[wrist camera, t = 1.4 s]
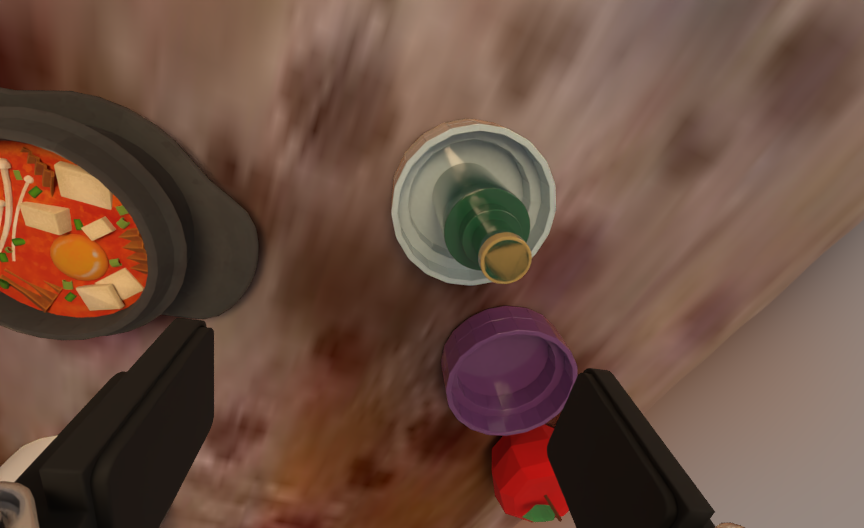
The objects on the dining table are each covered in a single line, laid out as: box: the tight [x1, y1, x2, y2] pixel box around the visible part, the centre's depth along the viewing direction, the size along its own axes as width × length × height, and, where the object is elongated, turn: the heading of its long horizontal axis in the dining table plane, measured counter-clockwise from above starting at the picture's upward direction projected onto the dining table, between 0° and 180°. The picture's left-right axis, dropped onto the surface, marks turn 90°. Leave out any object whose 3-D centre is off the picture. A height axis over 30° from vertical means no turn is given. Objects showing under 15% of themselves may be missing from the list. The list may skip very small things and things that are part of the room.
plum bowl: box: [441, 306, 577, 436], centre depth 42 cm, size 13×13×5 cm
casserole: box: [0, 88, 259, 340], centre depth 30 cm, size 25×19×8 cm
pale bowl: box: [391, 118, 556, 286], centre depth 34 cm, size 13×13×5 cm
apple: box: [492, 424, 569, 522], centre depth 46 cm, size 11×11×10 cm
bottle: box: [432, 163, 532, 284], centre depth 30 cm, size 6×6×14 cm
